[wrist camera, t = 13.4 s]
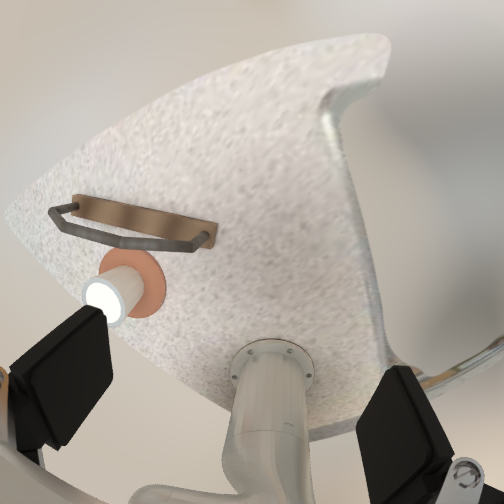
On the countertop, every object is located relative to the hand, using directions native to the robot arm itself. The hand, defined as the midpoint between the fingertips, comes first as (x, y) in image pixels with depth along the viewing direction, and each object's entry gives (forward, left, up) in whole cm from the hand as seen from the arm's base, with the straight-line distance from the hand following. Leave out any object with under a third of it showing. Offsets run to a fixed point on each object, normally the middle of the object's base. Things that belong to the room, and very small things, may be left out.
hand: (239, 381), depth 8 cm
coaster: (+4, +21, -28) cm, 35 cm away
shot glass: (+4, +21, -27) cm, 35 cm away
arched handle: (+11, +14, -28) cm, 33 cm away
